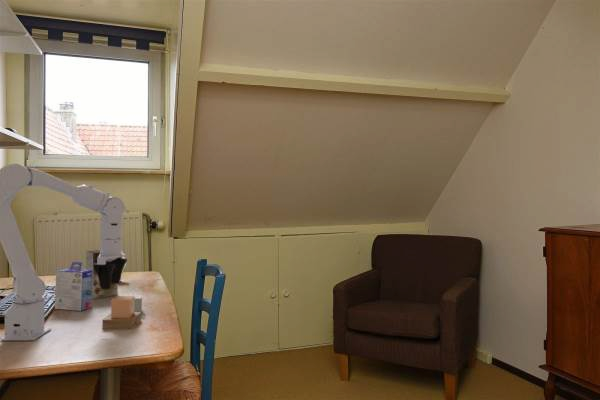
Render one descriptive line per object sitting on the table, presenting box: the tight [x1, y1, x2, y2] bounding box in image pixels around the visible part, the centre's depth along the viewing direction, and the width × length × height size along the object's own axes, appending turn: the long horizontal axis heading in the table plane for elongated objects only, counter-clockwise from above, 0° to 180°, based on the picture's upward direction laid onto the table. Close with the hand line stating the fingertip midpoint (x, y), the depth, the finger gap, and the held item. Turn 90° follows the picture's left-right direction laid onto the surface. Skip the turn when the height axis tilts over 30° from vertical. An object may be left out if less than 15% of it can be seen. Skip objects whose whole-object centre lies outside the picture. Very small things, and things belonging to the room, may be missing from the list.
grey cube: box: [126, 294, 143, 315], centre depth 143 cm, size 5×5×5 cm
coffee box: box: [85, 249, 119, 300], centre depth 165 cm, size 9×6×16 cm
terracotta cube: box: [110, 295, 135, 318], centre depth 130 cm, size 5×5×5 cm
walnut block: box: [101, 312, 142, 330], centre depth 130 cm, size 8×8×3 cm
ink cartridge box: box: [54, 261, 93, 312], centre depth 147 cm, size 10×6×14 cm, turn 78°
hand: (110, 286), depth 132 cm, fingers open, 7 cm apart
